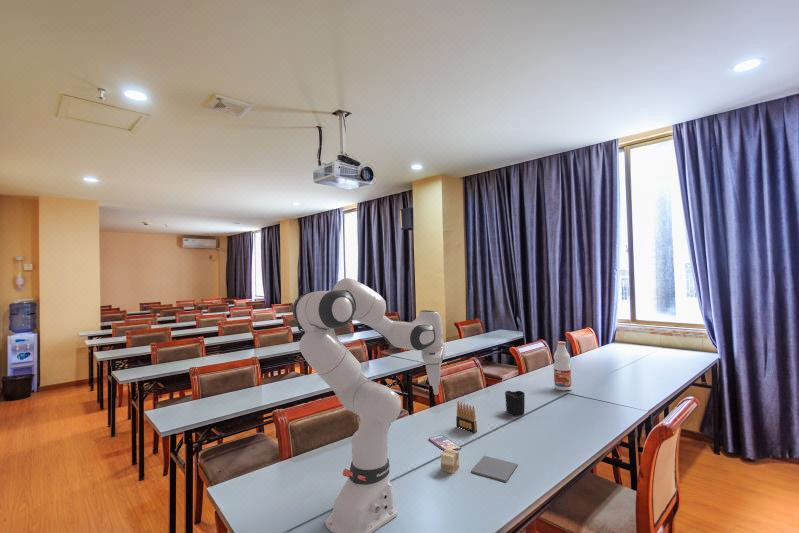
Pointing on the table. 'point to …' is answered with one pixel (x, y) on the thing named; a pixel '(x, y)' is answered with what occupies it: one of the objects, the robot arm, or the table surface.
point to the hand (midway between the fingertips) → (436, 389)
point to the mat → (494, 468)
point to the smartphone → (444, 443)
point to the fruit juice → (562, 367)
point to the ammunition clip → (466, 417)
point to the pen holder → (515, 402)
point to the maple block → (450, 461)
